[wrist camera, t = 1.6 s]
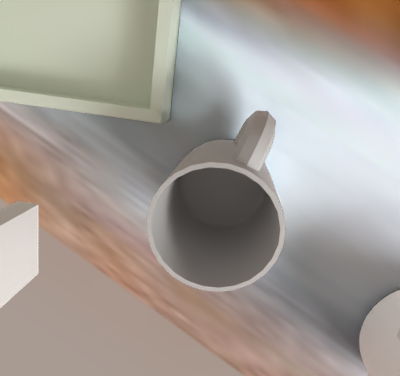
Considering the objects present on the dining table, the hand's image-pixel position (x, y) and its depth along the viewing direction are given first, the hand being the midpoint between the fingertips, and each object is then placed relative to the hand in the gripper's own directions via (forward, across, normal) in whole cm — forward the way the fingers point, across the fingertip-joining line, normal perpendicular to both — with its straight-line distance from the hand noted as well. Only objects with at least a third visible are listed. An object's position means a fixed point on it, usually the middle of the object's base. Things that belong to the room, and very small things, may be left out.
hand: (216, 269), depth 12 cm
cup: (+15, 0, 0) cm, 15 cm away
